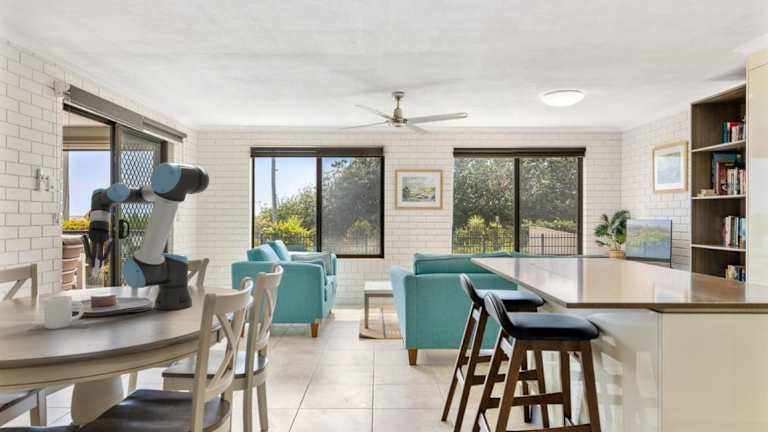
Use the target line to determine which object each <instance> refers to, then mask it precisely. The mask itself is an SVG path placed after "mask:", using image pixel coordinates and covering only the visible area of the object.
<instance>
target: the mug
mask: <svg viewBox="0 0 768 432" xmlns="http://www.w3.org/2000/svg"><path fill="white" fill-rule="evenodd" d="M73 305H76V306H78V308H79V312H78V314H77V315H74V316H73ZM84 307H85V306H84V304H83V303H82V302H81V301H79V300H76V299H75V300H74V299H73V297H72V296H71V295H70V296H69V295H59V296H58V295H57V296H49V297H46V298H44V299H43V313H44V314H43V315H44V318H43V320H44V322H43V325H45V328H47V329H59V328H65V327H68V326H70V325H71V324H72V321H74V320H80V318H82V316H83V315H84V312H85V308H84Z"/></svg>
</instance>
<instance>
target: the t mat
mask: <svg viewBox="0 0 768 432" xmlns="http://www.w3.org/2000/svg"><path fill="white" fill-rule="evenodd" d="M84 321H86V319H77V320H74V321H72V324H71V325H70V326H68V327H65V328H59V329H47V328H45V325H44V324H37V325H35V326H33V327H31V328H29V329H28V330H26V332H33V331H34V332H36V331H41V332H42V331H60V330H61V331H62V330H67V331H68V330H87V329H88V328H90V327H91V326H93V325H96V324H95V323H96V322H89V323H88V322H87V323H86V322H85V323H84Z"/></svg>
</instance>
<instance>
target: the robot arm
mask: <svg viewBox="0 0 768 432" xmlns="http://www.w3.org/2000/svg"><path fill="white" fill-rule="evenodd" d="M149 181H150V184H147V185H143V186H128V185H127V184H125V183H123V182H115V183H113V184H111V185H109V186H108V187H107V188H103V187H102V188H96V189H94V190H93V191H92V194H91V198H90V199H91V200H90V213H89V215H90V216H89V225H88V232H87V234H83V235H81V236H80V240H81V241H82V244H83V245H82V246H83V249H84V255H85V258H86V259H87V260H89V262H90V264H89V265H90V269H92V271H91V277H95V278H96V277H98V276H99V273H100V269H101V268H102V266H103V262H105V261H106V260H107V259H108V257H109V255H110V252H111V249H112V247H113V244H115V242H116V240H115V239H113V238H111V236H110V225H111V223H110V222H111V211H112V208H113V207H115V206H116V205H118V204H123V205H124V204H126V205H127V204H133V205H134V204H140V205H141V204H142V205H143V204H144V205H150V204H153V203H154V204H153V207H152V210H151V212H150V215H149V218H148V223H147V224H146V225H147V226H146V227H145V232H144V235H143V238H142V241H141V244H140V248H139V249H138V250H135V251H134V253H133V256H132V258H131V259H128V260H126V261H124V263H123V265H122V277H123V279H124V281H125V283H126V284H127V285H128V287H130V288H133V289H143V288H148V287H153V286H158V291H157V294H156V297H155V300H154V301H153V302H154V304H153V305H154V306H153V308H154V309H156V310H160V311H171V310H181V309H186V308H189V307H192V306H193V298H192V296H191V293H190V291H189V261H188V259H189V258H188V256H187V255H186V254H181V253H166V252H165V251H164V250H165V247H166V245H167V242H168V238H169V234H170V232H171V229H172V227H173V224H174V220H175V217H176V214H177V211H178V208H179V205H180V204H181V203H183V202H185V200H186V196H187V195H194V194H201V193H203V192H205V190H206V189H207V188H208V187H209V184H210V177H209V173H208V172H207V170H205V168H203V167H202V166H200V165H196V164H187V163H176V162H161V163H160V164H157V165H156V166H155V167H154V169H153V170H152V172H151V175H150V180H149ZM90 241H91V247H90ZM106 242H107V245H106V247H105V243H106ZM104 248H105V250H104Z"/></svg>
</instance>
